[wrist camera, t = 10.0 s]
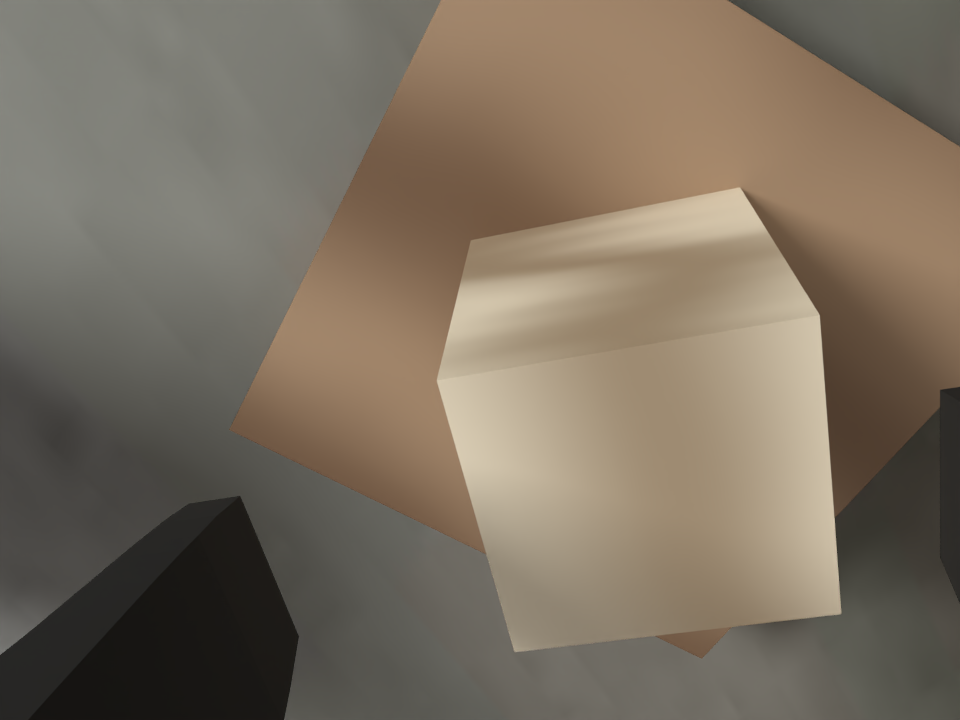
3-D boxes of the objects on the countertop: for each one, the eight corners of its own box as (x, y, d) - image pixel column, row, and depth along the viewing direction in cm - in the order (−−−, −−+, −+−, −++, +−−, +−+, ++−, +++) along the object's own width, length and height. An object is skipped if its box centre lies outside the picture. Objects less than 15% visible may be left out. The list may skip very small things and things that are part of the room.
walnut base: (686, 580, 22) (702, 658, 19) (265, 369, 20) (229, 429, 18) (1029, 190, 17) (1101, 235, 15) (516, -133, 15) (509, -138, 13)
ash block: (524, 458, 17) (514, 652, 13) (470, 240, 15) (437, 380, 11) (764, 421, 17) (840, 613, 12) (739, 187, 15) (819, 314, 10)
